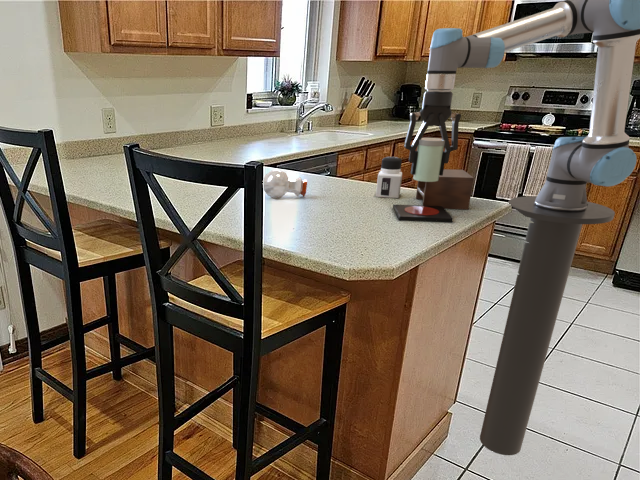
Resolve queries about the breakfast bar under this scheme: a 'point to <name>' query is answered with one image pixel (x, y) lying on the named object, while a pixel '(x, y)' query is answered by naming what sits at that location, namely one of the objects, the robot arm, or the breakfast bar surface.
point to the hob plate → (422, 213)
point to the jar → (429, 159)
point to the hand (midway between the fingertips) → (426, 174)
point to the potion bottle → (283, 184)
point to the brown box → (447, 190)
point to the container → (389, 178)
